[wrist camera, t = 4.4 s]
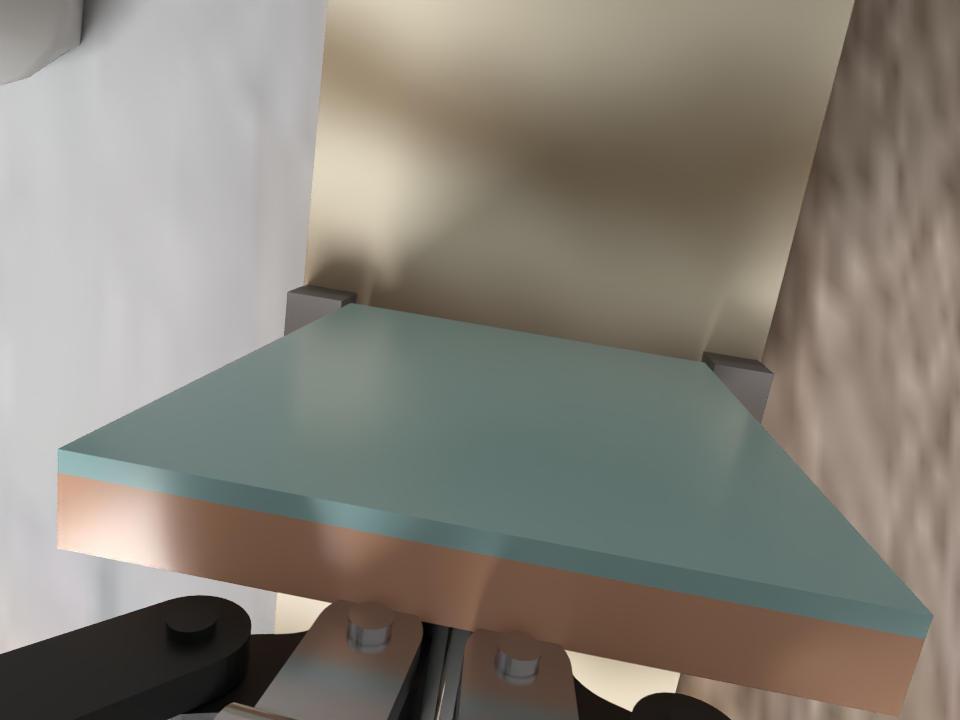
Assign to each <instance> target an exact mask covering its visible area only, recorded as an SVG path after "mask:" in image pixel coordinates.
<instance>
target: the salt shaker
mask: <svg viewBox="0 0 960 720" xmlns="http://www.w3.org/2000/svg"><path fill="white" fill-rule="evenodd" d="M83 5H84V0H0V85H4V84H7V83H11V82H14V81H18V80H21V79H25V78H29V77H30V76H32V75H33V74H35V73H36V72H38V71H39V70H41V69H42V68H44V67H45V66H46V65H48V64H49V63H51V62H52V61H54V60H55V59H57V58H58V57H60V56H61V55H63V54H65V53H66V52H68V51H70V50H71V49H73V48H75V47H76V46H78V45H80V41H81V29H82V17H83Z"/></svg>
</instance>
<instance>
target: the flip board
mask: <svg viewBox="0 0 960 720" xmlns="http://www.w3.org/2000/svg"><path fill="white" fill-rule="evenodd" d="M854 1H855V0H328V9H327V20H326V32H325V44H324V55H323V67H322V79H321V90H320V102H319V114H318V125H317V137H316V149H315V160H314V172H313V184H312V195H311V207H310V219H309V230H308V242H307V254H306V265H305V277H304V286H302V287H299V288H297V289H294V290H291V291H289V292H288V293H287V306H286V318H285V331H284V336H286V335H288V334H290V333H292V332H294V331H296V330H298V329H300V328H302V327H304V326H306V325H308V324H310V323H312V322H314V321H316V320H318V319H320V318H322V317H324V316H326V315H328V314H330V313H332V312H334V311H336V310H338V309H340V308H342V307H344V306H346V305H348V304H350V303H354V304H360V305H366V306H372V307H378V308H384V309H390V310H396V311H402V312H408V313H414V314H420V315H425V316H431V317H437V318H443V319H449V320H455V321H461V322H467V323H473V324H479V325H485V326H491V327H496V328H502V329H508V330H514V331H520V332H526V333H532V334H538V335H544V336H550V337H556V338H562V339H567V340H573V341H579V342H585V343H591V344H597V345H603V346H609V347H615V348H621V349H627V350H633V351H638V352H644V353H650V354H656V355H662V356H668V357H674V358H680V359H686V360H692V361H698V362H704V363H706V365H707V366H708V367H709V368H710V369H711V370H712V371H713V372H714V373H715V374H716V376H717V377H718V378H719V379H720V380H721V381H722V382H723V383H724V384H725V386H726V387H727V388H728V389H729V390H730V391H731V392H732V393H733V394H734V395H735V397H736V398H737V399H738V400H739V401H740V402H741V403H742V404H743V405H744V407H745V408H746V409H747V410H748V411H749V412H750V413H751V414H752V415H753V416H754V418H755V419H756V420H757V421H758V422H759V423H760V424H761V421H762V417H763V414H764V410H765V406H766V402H767V399H768V395H769V391H770V387H771V384H772V380H773V376H774V374H773V373H772V372H771V371H770V370H769V369H767V368H766V367H765V366H764V365H763V364H762V363H761V360H762V356H763V353H764V349H765V345H766V341H767V337H768V333H769V329H770V326H771V322H772V318H773V314H774V310H775V306H776V302H777V299H778V295H779V291H780V287H781V283H782V279H783V275H784V272H785V268H786V264H787V260H788V256H789V252H790V248H791V245H792V241H793V237H794V233H795V229H796V225H797V221H798V218H799V214H800V210H801V206H802V202H803V198H804V194H805V191H806V187H807V183H808V179H809V175H810V171H811V167H812V164H813V160H814V156H815V152H816V148H817V144H818V140H819V136H820V133H821V129H822V125H823V121H824V117H825V113H826V109H827V106H828V102H829V98H830V94H831V90H832V86H833V82H834V79H835V75H836V71H837V67H838V63H839V59H840V55H841V52H842V48H843V44H844V40H845V36H846V32H847V28H848V25H849V21H850V17H851V13H852V9H853V5H854ZM330 604H332V603H328V602H323V601H318V600H313V599H308V598H303V597H298V596H293V595H288V594H283V593H278V592H277V604H276V616H275V627H274V634H288V633H297V632H303V631H307V630H309V629H310V627H311V626H312V625H313V623H314V622H315V620H316V619H317V617H318V616H319V615H320V613H321V612H322V611H323V610H324V609H325V608H326V607H328V606H329V605H330ZM565 651H566V653H567V655H568V657H569V659H570V662H571V666H572V673H573V675H574V677H575V678H576V679H577V680H578V681H579V682H580V683H581V684H582V685H584V686H585V687H586V688H587V689H589V690H590V691H591V692H593V693H594V694H596V695H598V696H599V697H601V698H603V699H605V700H607V701H609V702H611V703H613V704H615V705H618V706H620V707H622V708H624V709H626V710H629V711H631V712H632V710H633V708H634V706H635V705H636V703H637V702H638V701H639V700H640V699H642V698H643V697H645V696H647V695H651V694H654V693H662V692H668V693H675V692H676V688H677V684H678V680H679V677H680V673H677V672H672V671H667V670H662V669H657V668H652V667H647V666H642V665H637V664H632V663H627V662H622V661H617V660H612V659H607V658H602V657H597V656H592V655H587V654H582V653H577V652H572V651H567V650H565ZM444 687H445V685H444ZM443 693H444V689H443ZM442 698H443V694H442Z"/></svg>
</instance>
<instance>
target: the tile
mask: <svg viewBox="0 0 960 720" xmlns="http://www.w3.org/2000/svg"><path fill="white" fill-rule="evenodd" d="M57 548H59V549H64V550H69V551H74V552H79V553H84V554H89V555H94V556H99V557H104V558H109V559H114V560H119V561H124V562H129V563H134V564H139V565H144V566H148V567H153V568H158V569H163V570H168V571H173V572H178V573H183V574H188V575H193V576H198V577H203V578H208V579H213V580H218V581H223V582H228V583H233V584H238V585H243V586H248V587H253V588H258V589H263V590H268V591H273V592H278V593H283V594H288V595H293V596H298V597H303V598H308V599H313V600H318V601H323V602H328V603H334V602H336V601H338V600H345V601H350V602H355V603H364V602H376V603H380V604H383V605H385V606H387V607H389V608H390V609H391V610H394V611H399V612H404V613H409V614H414V615H417V616H418V617H419V619H420V621H423V622H428V623H433V624H438V625H443V626H448V627H453V628H458V629H463V630H468V631H473V632H475V631H477V630H478V629H480V628H482V629H487V630H492V631H497V632H502V633H506V632H511V631H519V632H524V633H527V634H529V635H531V636H533V637H535V638H536V639H537V640H541V641H546V642H551V643H556V644H560V645H561V646H562V647H563V649H564V650H567V651H572V652H577V653H582V654H587V655H592V656H597V657H602V658H607V659H612V660H617V661H622V662H627V663H632V664H637V665H642V666H647V667H652V668H657V669H662V670H667V671H672V672H677V673H682V674H687V675H692V676H697V677H702V678H707V679H712V680H717V681H722V682H727V683H732V684H737V685H742V686H747V687H752V688H757V689H762V690H767V691H772V692H777V693H782V694H787V695H792V696H797V697H802V698H807V699H812V700H817V701H822V702H827V703H832V704H837V705H842V706H847V707H852V708H857V709H862V710H867V711H872V712H877V713H882V714H887V715H892V716H897V717H898V716H899V713H900V710H901V707H902V704H903V701H904V699H905V696H906V693H907V690H908V687H909V684H910V681H911V678H912V675H913V673H914V670H915V667H916V664H917V661H918V658H919V655H920V652H921V649H922V647H923V644H924V641H925V638H926V635H927V632H928V629H929V626H930V623H931V621H932V618H933V614H932V613H931V612H930V611H929V610H928V609H927V608H926V607H925V606H924V604H923V603H922V602H921V601H920V600H919V599H918V598H917V597H916V596H915V594H914V593H913V592H912V591H911V590H910V589H909V588H908V587H907V586H906V585H905V583H904V582H903V581H902V580H901V579H900V578H899V577H898V576H897V575H896V573H895V572H894V571H893V570H892V569H891V568H890V567H889V566H888V565H887V564H886V562H885V561H884V560H883V559H882V558H881V557H880V556H879V555H878V554H877V552H876V551H875V550H874V549H873V548H872V547H871V546H870V545H869V544H868V543H867V541H866V540H865V539H864V538H863V537H862V536H861V535H860V534H859V533H858V531H857V530H856V529H855V528H854V527H853V526H852V525H851V524H850V523H849V522H848V520H847V519H846V518H845V517H844V516H843V515H842V514H841V513H840V512H839V510H838V509H837V508H836V507H835V506H834V505H833V504H832V503H831V502H830V501H829V499H828V498H827V497H826V496H825V495H824V494H823V493H822V492H821V491H820V489H819V488H818V487H817V486H816V485H815V484H814V483H813V482H812V481H811V480H810V478H809V477H808V476H807V475H806V474H805V473H804V472H803V471H802V470H801V468H800V467H799V466H798V465H797V464H796V463H795V462H794V461H793V460H792V459H791V457H790V456H789V455H788V454H787V453H786V452H785V451H784V450H783V449H782V447H781V446H780V445H779V444H778V443H777V442H776V441H775V440H774V439H773V437H772V436H771V435H770V434H769V433H768V432H767V431H766V430H765V429H764V428H763V426H762V425H761V424H760V423H759V422H758V421H757V420H756V419H755V418H754V416H753V415H752V414H751V413H750V412H749V411H748V410H747V409H746V408H745V407H744V405H743V404H742V403H741V402H740V401H739V400H738V399H737V398H736V397H735V395H734V394H733V393H732V392H731V391H730V390H729V389H728V388H727V387H726V386H725V384H724V383H723V382H722V381H721V380H720V379H719V378H718V377H717V376H716V374H715V373H714V372H713V371H712V370H711V369H710V368H709V367H708V366H707V365H706V363H704V362H698V361H692V360H686V359H680V358H674V357H668V356H662V355H656V354H650V353H644V352H638V351H633V350H627V349H621V348H615V347H609V346H603V345H597V344H591V343H585V342H579V341H573V340H567V339H562V338H556V337H550V336H544V335H538V334H532V333H526V332H520V331H514V330H508V329H502V328H496V327H491V326H485V325H479V324H473V323H467V322H461V321H455V320H449V319H443V318H437V317H431V316H425V315H420V314H414V313H408V312H402V311H396V310H390V309H384V308H378V307H372V306H366V305H360V304H354V303H350V304H348V305H346V306H344V307H342V308H340V309H338V310H336V311H334V312H332V313H330V314H328V315H326V316H324V317H322V318H320V319H318V320H316V321H314V322H312V323H310V324H308V325H306V326H304V327H302V328H300V329H298V330H296V331H294V332H292V333H290V334H288V335H286V336H284V337H282V338H280V339H278V340H276V341H274V342H272V343H270V344H268V345H266V346H264V347H262V348H260V349H258V350H255V351H253V352H251V353H249V354H247V355H245V356H243V357H241V358H239V359H237V360H235V361H233V362H231V363H229V364H227V365H225V366H223V367H221V368H219V369H217V370H215V371H213V372H211V373H209V374H207V375H205V376H203V377H201V378H199V379H197V380H195V381H193V382H191V383H189V384H187V385H185V386H183V387H181V388H179V389H177V390H175V391H173V392H171V393H169V394H167V395H165V396H163V397H161V398H159V399H157V400H155V401H153V402H151V403H149V404H147V405H145V406H143V407H141V408H139V409H137V410H135V411H133V412H131V413H129V414H127V415H125V416H123V417H121V418H119V419H117V420H115V421H113V422H111V423H109V424H107V425H105V426H103V427H101V428H99V429H97V430H95V431H93V432H91V433H89V434H87V435H85V436H83V437H81V438H79V439H77V440H75V441H73V442H71V443H69V444H67V445H65V446H63V447H61V448H59V449H58V524H57Z"/></svg>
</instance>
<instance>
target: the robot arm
mask: <svg viewBox="0 0 960 720" xmlns="http://www.w3.org/2000/svg"><path fill="white" fill-rule="evenodd" d="M444 685H445V687H444ZM443 689H444V693H443ZM442 694H443V699H442V705H441V711H440V717H439V720H731V719H730V718H728V717H727V716H726V715H725V714H723V713H722V712H721V711H719V710H718V709H716V708H714V707H713V706H711V705H709V704H707V703H705V702H703V701H701V700H698V699H696V698H693V697H690V696H687V695H683V694H678V693H668V692H662V693H654V694H651V695H647V696H645V697H643V698H642V699H640V700H639V701H638V702H637V703H636V705H635V706H634V708H633V710H632V712H631V711H629V710H626V709H624V708H622V707H620V706H618V705H615V704H613V703H611V702H609V701H607V700H605V699H603V698H601V697H599V696H598V695H596V694H594V693H593V692H591V691H590V690H589V689H587V688H586V687H585V686H584V685H582V684H581V683H580V682H579V681H578V680H577V679H576V678H575V677H574V675H573V673H572V666H571V662H570V659H569V657H568V655H567V653H566V651H565V650H564V649H563V647H562V646H561V645H560V644H556V643H551V642H546V641H541V640H537V639H536V638H535V637H533V636H531V635H529V634H527V633H524V632H519V631H511V632H506V633H502V632H497V631H492V630H487V629H482V628H480V629H478V630H477V631H475V632H473V631H468V630H463V629H458V628H453V627H448V626H443V625H438V624H433V623H428V622H423V621H420V619H419V617H418V616H417V615H414V614H409V613H404V612H399V611H394V610H391V609H390V608H389V607H387V606H385V605H383V604H380V603H376V602H364V603H355V602H350V601H345V600H338V601H336V602H334V603H332V604H330V605H329V606H328V607H326V608H325V609H324V610H323V611H322V612H321V613H320V615H319V616H318V617H317V619H316V620H315V622H314V623H313V625H312V626H311V627H310V629H309V630H307V631H303V632H297V633H288V634H253V635H251V620H250V618H249V615H248V614H247V613H246V611H245V610H244V609H243V608H242V607H240V606H239V605H237V604H236V603H234V602H232V601H229V600H227V599H223V598H219V597H214V596H201V595H197V596H186V597H180V598H175V599H171V600H168V601H165V602H162V603H158V604H155V605H152V606H149V607H146V608H143V609H140V610H137V611H133V612H130V613H127V614H124V615H121V616H118V617H115V618H112V619H109V620H105V621H102V622H99V623H96V624H93V625H90V626H87V627H84V628H81V629H77V630H74V631H71V632H68V633H65V634H62V635H59V636H56V637H53V638H49V639H46V640H43V641H40V642H37V643H34V644H31V645H28V646H25V647H21V648H18V649H15V650H12V651H9V652H6V653H3V654H0V720H437V715H438V711H439V707H440V702H441V698H442Z"/></svg>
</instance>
